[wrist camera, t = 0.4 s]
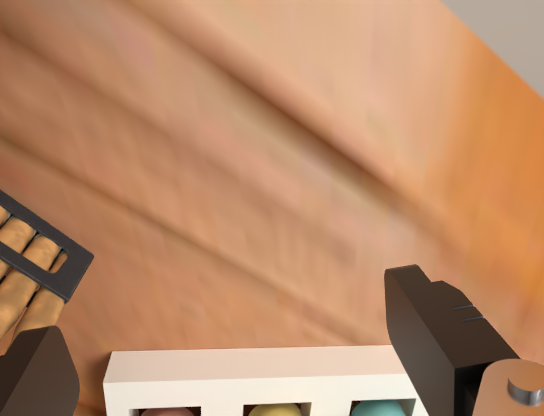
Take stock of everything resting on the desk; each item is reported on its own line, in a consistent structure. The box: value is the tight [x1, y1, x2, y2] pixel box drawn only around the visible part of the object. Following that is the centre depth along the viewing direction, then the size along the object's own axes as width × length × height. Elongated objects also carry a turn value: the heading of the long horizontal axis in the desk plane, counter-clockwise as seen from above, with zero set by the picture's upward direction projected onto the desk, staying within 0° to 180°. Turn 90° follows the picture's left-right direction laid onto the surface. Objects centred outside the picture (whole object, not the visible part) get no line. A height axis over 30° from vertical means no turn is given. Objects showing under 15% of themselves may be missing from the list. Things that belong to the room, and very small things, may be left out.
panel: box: [103, 345, 429, 416], centre depth 36 cm, size 10×24×3 cm, turn 86°
